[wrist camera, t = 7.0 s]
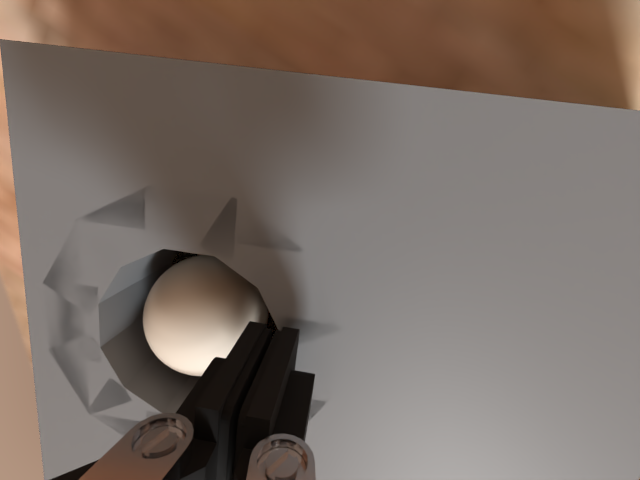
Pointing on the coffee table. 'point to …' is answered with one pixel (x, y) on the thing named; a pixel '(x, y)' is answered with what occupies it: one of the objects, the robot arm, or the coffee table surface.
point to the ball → (199, 313)
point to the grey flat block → (337, 258)
